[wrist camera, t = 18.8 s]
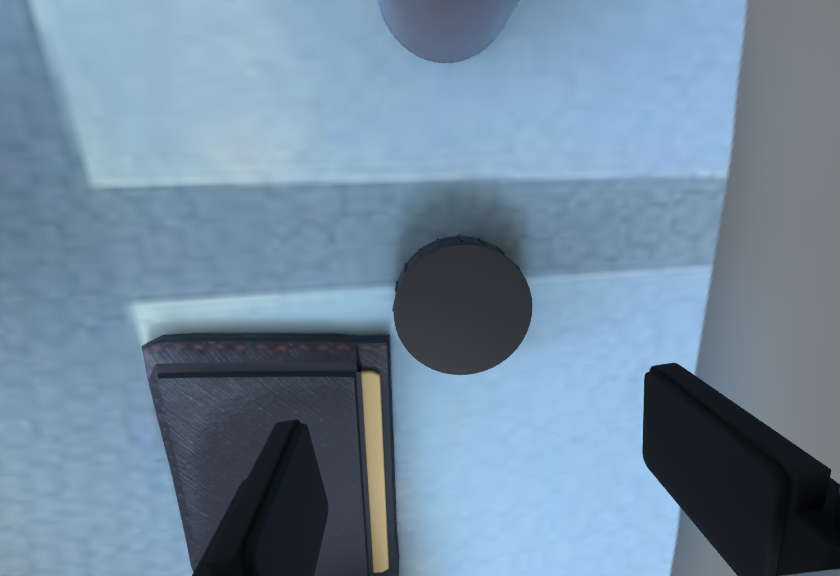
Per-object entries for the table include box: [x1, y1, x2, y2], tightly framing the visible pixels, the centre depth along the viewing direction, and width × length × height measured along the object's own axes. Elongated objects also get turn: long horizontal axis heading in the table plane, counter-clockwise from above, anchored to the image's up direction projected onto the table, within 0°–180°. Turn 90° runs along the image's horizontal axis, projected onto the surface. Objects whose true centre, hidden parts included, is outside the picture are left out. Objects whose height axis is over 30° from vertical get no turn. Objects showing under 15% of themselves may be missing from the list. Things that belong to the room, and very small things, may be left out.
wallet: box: [142, 334, 399, 576], centre depth 25 cm, size 20×2×15 cm
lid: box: [393, 235, 532, 375], centre depth 22 cm, size 7×7×3 cm
